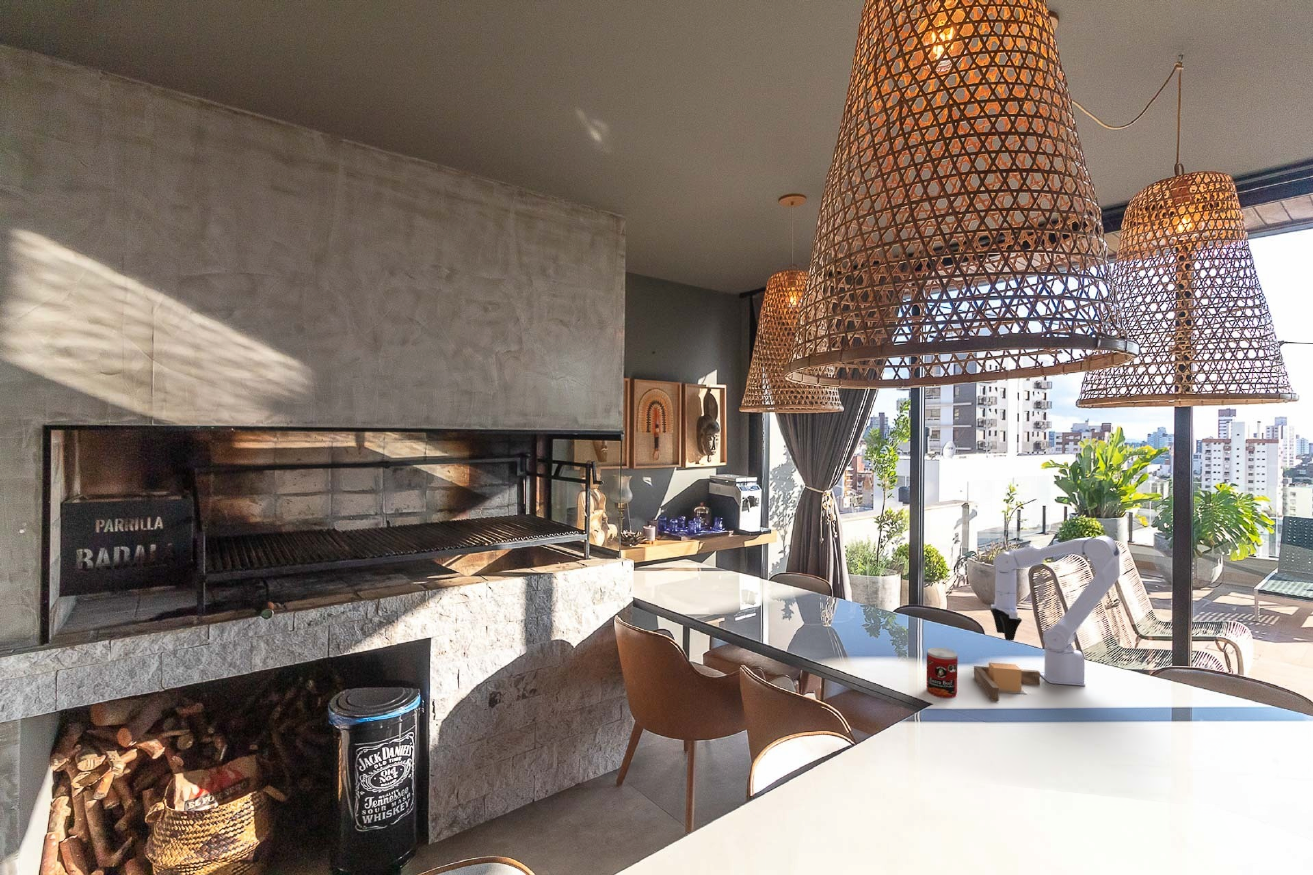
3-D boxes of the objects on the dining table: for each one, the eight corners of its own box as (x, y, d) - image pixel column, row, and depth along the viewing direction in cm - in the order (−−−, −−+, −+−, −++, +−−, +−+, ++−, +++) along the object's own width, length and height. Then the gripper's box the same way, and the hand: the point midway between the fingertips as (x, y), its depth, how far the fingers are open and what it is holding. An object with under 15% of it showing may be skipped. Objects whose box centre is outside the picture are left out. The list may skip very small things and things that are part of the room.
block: (988, 683, 186) (988, 662, 186) (1014, 685, 185) (1015, 664, 185) (993, 689, 181) (994, 667, 182) (1021, 691, 180) (1021, 669, 180)
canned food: (924, 694, 177) (925, 653, 177) (927, 685, 184) (928, 645, 184) (956, 700, 174) (956, 658, 174) (957, 690, 181) (958, 650, 181)
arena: (1037, 682, 188) (1037, 670, 188) (1062, 706, 171) (1063, 692, 171) (973, 677, 191) (974, 665, 191) (992, 700, 174) (992, 687, 174)
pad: (1015, 682, 187) (1015, 682, 187) (1025, 694, 179) (1025, 693, 179) (981, 680, 189) (981, 680, 189) (991, 691, 180) (991, 690, 180)
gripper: (984, 585, 208) (983, 628, 208) (999, 596, 194) (998, 642, 194) (1008, 586, 207) (1007, 630, 207) (1025, 597, 193) (1024, 644, 193)
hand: (1005, 636), depth 200 cm, fingers open, 7 cm apart
